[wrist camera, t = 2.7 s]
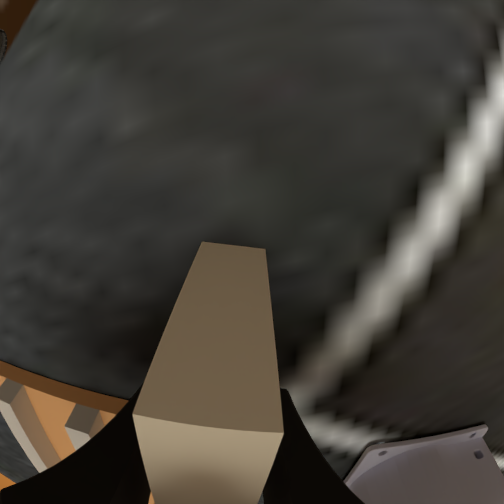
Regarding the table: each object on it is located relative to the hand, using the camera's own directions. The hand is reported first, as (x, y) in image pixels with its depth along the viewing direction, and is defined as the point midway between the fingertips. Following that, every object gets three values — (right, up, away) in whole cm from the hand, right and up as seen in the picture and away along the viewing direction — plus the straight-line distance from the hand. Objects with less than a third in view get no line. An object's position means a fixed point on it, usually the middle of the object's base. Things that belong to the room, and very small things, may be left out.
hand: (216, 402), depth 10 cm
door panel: (0, +1, +2) cm, 2 cm away
